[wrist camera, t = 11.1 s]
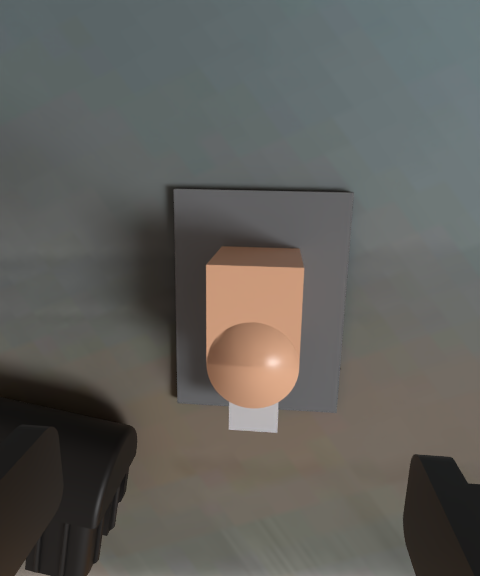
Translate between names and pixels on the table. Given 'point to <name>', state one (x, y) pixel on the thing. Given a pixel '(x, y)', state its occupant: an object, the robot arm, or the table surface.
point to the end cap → (77, 484)
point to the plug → (254, 330)
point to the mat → (268, 234)
